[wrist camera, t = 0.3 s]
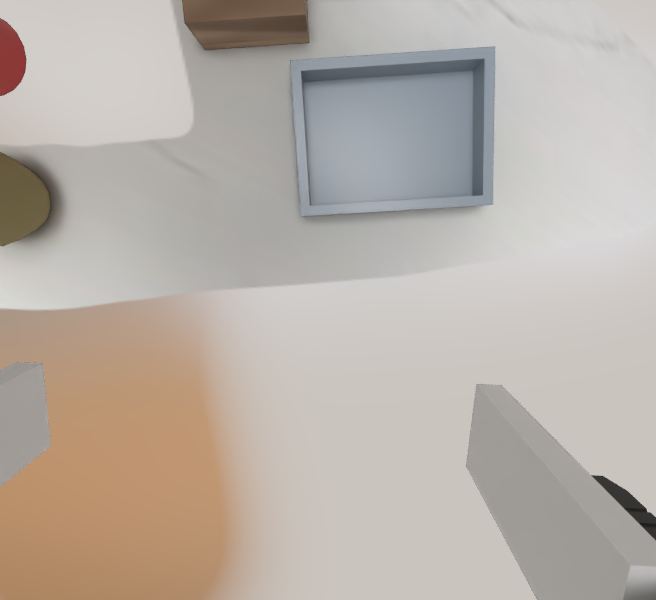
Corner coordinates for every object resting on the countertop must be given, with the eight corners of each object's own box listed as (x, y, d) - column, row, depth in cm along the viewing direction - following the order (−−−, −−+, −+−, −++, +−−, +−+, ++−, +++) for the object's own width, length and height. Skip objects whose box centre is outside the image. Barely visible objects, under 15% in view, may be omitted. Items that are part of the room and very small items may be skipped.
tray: (294, 75, 36) (290, 60, 33) (479, 62, 36) (495, 46, 32) (303, 216, 38) (300, 216, 35) (478, 205, 38) (492, 204, 35)
